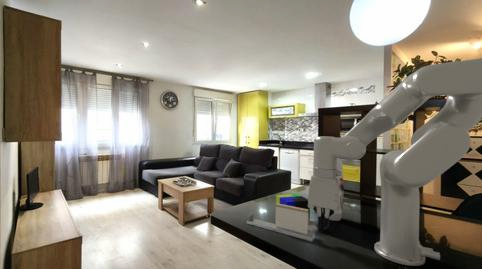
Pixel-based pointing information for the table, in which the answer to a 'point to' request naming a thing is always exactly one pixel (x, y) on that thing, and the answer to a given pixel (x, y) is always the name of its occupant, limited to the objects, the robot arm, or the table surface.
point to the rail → (271, 226)
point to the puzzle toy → (293, 202)
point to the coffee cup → (338, 216)
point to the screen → (292, 218)
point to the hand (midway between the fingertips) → (323, 228)
